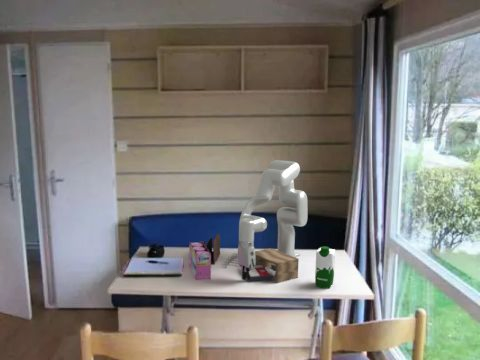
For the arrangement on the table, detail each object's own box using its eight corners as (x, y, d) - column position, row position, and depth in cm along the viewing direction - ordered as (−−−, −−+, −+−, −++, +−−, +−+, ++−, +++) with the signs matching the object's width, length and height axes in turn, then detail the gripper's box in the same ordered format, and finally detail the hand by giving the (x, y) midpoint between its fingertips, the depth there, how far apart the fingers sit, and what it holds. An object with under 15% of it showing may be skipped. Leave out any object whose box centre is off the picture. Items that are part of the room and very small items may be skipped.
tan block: (270, 265, 258) (270, 248, 257) (297, 277, 240) (298, 258, 239) (250, 270, 250) (250, 252, 248) (277, 283, 232) (277, 263, 231)
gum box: (188, 265, 257) (188, 241, 255) (202, 264, 259) (202, 240, 257) (195, 280, 235) (195, 254, 232) (211, 279, 237) (211, 253, 235)
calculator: (249, 275, 232) (242, 264, 247) (249, 283, 233) (242, 272, 248) (270, 274, 235) (262, 263, 249) (270, 282, 236) (262, 270, 250)
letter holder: (220, 254, 278) (220, 231, 276) (214, 265, 258) (214, 240, 256) (203, 253, 279) (203, 230, 277) (196, 264, 259) (196, 239, 257)
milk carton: (313, 286, 229) (314, 247, 226) (317, 280, 237) (319, 242, 234) (330, 289, 225) (332, 250, 222) (335, 283, 233) (337, 245, 230)
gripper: (261, 246, 228) (260, 281, 230) (243, 238, 240) (242, 273, 242) (249, 248, 223) (248, 284, 226) (231, 241, 235) (230, 275, 238)
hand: (245, 278), depth 234 cm, fingers closed
